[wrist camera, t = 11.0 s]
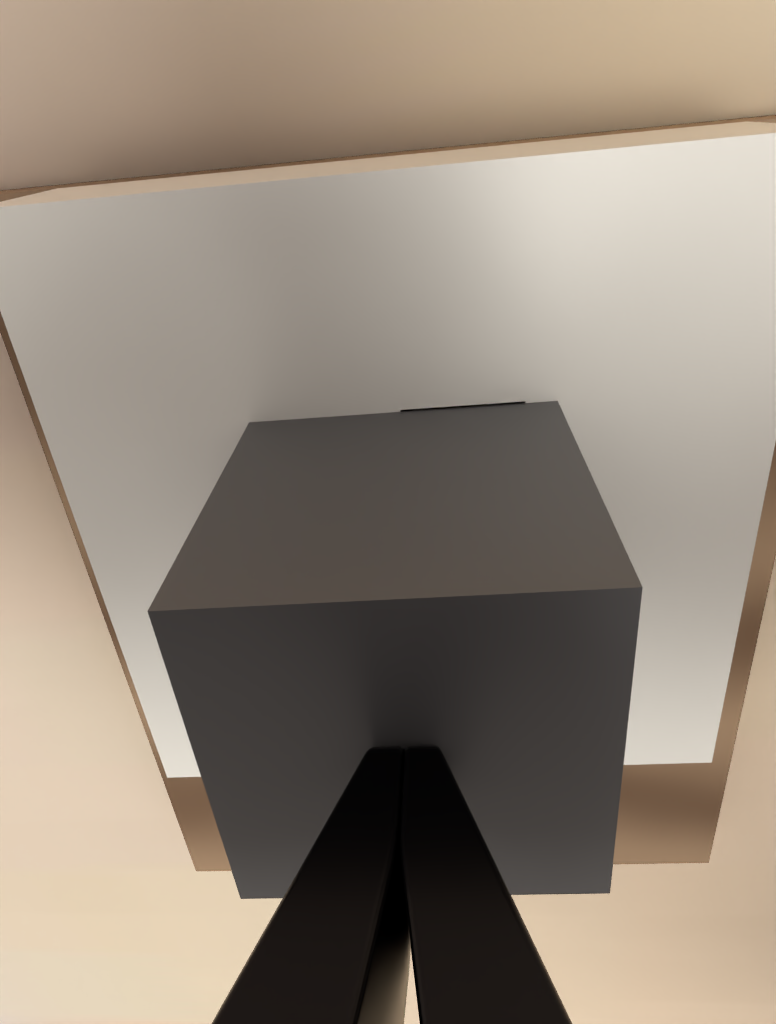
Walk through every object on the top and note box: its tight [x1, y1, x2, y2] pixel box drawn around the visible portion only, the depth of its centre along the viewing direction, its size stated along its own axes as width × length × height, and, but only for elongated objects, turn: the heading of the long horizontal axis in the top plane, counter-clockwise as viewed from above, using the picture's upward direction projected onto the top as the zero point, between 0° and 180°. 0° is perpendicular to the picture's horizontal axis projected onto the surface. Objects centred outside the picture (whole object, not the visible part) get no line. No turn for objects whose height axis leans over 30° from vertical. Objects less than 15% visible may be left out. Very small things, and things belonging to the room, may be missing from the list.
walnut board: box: [0, 115, 776, 871], centre depth 18 cm, size 20×16×1 cm
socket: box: [0, 121, 776, 778], centre depth 14 cm, size 12×12×3 cm
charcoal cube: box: [147, 401, 643, 899], centre depth 11 cm, size 5×5×7 cm
